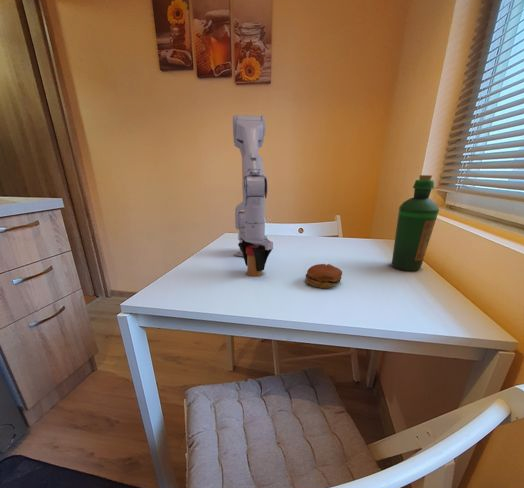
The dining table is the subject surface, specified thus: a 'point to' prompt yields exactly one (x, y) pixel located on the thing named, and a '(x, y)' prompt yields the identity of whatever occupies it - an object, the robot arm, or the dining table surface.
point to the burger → (323, 276)
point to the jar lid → (250, 249)
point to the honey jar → (252, 266)
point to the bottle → (415, 226)
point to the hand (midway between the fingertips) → (254, 267)
